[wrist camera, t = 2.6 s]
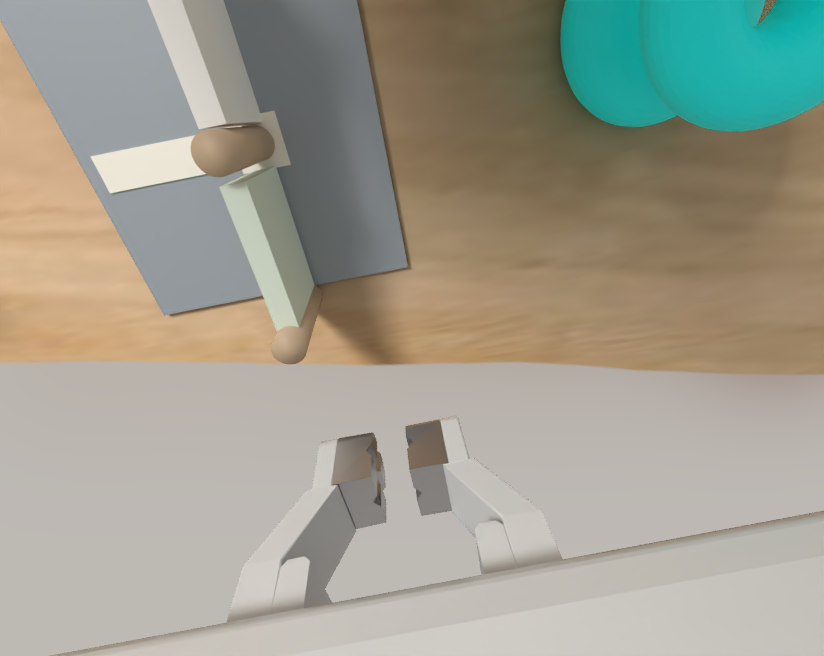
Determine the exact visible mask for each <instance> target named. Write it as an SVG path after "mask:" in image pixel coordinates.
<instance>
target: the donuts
mask: <svg viewBox="0 0 824 656" xmlns="http://www.w3.org/2000/svg"><path fill="white" fill-rule="evenodd" d="M765 1H766V0H566V1H565V5H564V10H563V15H562V23H561V56H562V62H563V67H564V71H565V75H566V78H567V81H568V83H569V85H570V87H571V89H572V91H573V93H574V95H575V96H576V98H577V99H578V100H579V102H580V103H581V104H582V105H583V106H584V107H585V108H586V109H587V110H588V111H589V112H590V113H592V114H593V115H594V116H596V117H597V118H599V119H601V120H603V121H605V122H607V123H610V124H613V125H617V126H624V127H643V126H649V125H654V124H657V123H660V122H664V121H666V120H669V119H671V118H674V117H676V116H679V117H681V118H682V119H684V120H686V121H688V122H690V123H692V124H695V125H697V126H700V127H703V128H706V129H710V130H716V131H731V132H739V131H749V130H755V129H760V128H764V127H768V126H771V125H775V124H778V123H781V122H784V121H786V120H789V119H791V118H793V117H796V116H798V115H800V114H802V113H804V112H806V111H808V110H809V109H811V108H813V107H815V106H816V105H818V104H820V103H822V102H823V101H824V0H777V1H776V3H775V4H774V6H773V8H772V9H771V11H770V12H769V14H768V15H767V16H766V17H765V18H764V20H763V21H762V22H761V23H759V24H758V22H759V19H760V16H761V14H762V11H763V8H764V4H765ZM757 24H758V25H757Z"/></svg>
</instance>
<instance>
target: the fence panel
mask: <svg viewBox="0 0 824 656" xmlns="http://www.w3.org/2000/svg"><path fill="white" fill-rule="evenodd" d="M219 188H220V191H221V193H222V196H223V198H224V201H225V203H226V206H227V208H228V210H229V213H230V215H231V218H232V220H233V223H234V225H235V228H236V230H237V233H238V235H239V238H240V240H241V243H242V245H243V248H244V250H245V253H246V255H247V258H248V260H249V263H250V265H251V268H252V270H253V273H254V275H255V278H256V280H257V283H258V285H259V288H260V290H261V293H262V295H263V297H264V300H265V302H266V305H267V307H268V310H269V312H270V315H271V317H272V320H273V322H274V325H275V327H276V330H277V333H276V335H275V338H274V340H273V342H272V345H271V352H272V354H273V356H274V357H275V358H276V359H277V360H278V361H280V362H282V363H285V364H296V363H299V362H300V361H302V360H303V359H304V357H305V355H306V352H307V349H308V345H309V342H310V338H311V335H312V332H313V328H314V325H315V321H316V318H317V314H318V311H319V307H320V304H321V300H322V292H321V290H320V289H319V288H318V287H317V286H316V285H314V282H313V279H312V276H311V273H310V270H309V266H308V263H307V260H306V257H305V254H304V251H303V248H302V245H301V242H300V239H299V236H298V233H297V230H296V226H295V223H294V220H293V217H292V214H291V211H290V208H289V205H288V202H287V199H286V196H285V193H284V190H283V186H282V183H281V180H280V177H279V174H278V171H277V168H276V166H274V167H269V168H264V169H259V170H255V171H253V172H251V173H248V174H246V175H244V176H242V177H240V178H238V179H235V180H233V181H231V182H229V183H227V184H225V185H222V186H220V187H219Z"/></svg>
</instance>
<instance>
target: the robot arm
mask: <svg viewBox="0 0 824 656" xmlns="http://www.w3.org/2000/svg"><path fill="white" fill-rule="evenodd" d="M406 438H407V442H408V446H409V448H408V449H407V450H408V460H409V470H410V473H411V477H412V482H413V486H414V488H415V489H416V494H417V501H418V505H419V508H420V512H421V515H422V516H423V515H429V514H435V513H441V512H447V511H452V512H453V513H454V514H455V516H456V517H457V518H458V519H459V520H460V521H461V522H462V524H463V525H464V526H465V527H466V528H467V529H468V530H469V531H470V533H471V534H472V535H473V536H474V537H475V538H476V541H477V548H478V554H479V561H480V568H481V573H482V575H480V576H473V577H468V578H463V579H458V580H452V581H447V582H442V583H436V584H431V585H426V586H420V587H416V588H410V589H404V590H399V591H394V592H388V593H383V594H378V595H372V596H367V597H362V598H356V599H351V600H345V601H340V602H335V603H332V602H331V600H330V598H329V596H328V594H327V593H326V590H325V588H326V586H327V584H328V582H329V580H330V579H331V577H332V575H333V573H334V571H335V569H336V567H337V566H338V564H339V562H340V560H341V558H342V556H343V554H344V553H345V551H346V549H347V547H348V545H349V543H350V541H351V540H352V538H353V536H354V534H355V532H356V529H358V528H363V527H367V526H372V525H376V524H381V523H385V522H386V499H385V496H384V493H383V490H384V488H385V473H384V466H383V461H382V457H381V454H380V453H379V452H378V451H377V441H376V438H375V435H374V433H367V434H361V435H356V436H350V437H344V438H339V439H334V440H329V441H322V442H321V444H320V445H319V450H318V455H317V461H316V466H315V472H314V478H313V484H312V489H311V490H307V491H305V493H304V494H303V495H302V496H301V498H300V499H299V500H298V501H297V502H296V504H295V505H294V506H293V507H292V508H291V510H290V511H289V512H288V513H287V514H286V516H285V517H284V518H283V519H282V520H281V522H280V523H279V524H278V525H277V526H276V528H275V529H274V530H273V531H272V532H271V534H270V535H269V536H268V537H267V538H266V540H265V541H264V542H263V543H262V544H261V546H260V547H259V548H258V549H257V550H256V552H255V553H254V554H253V555H252V556H251V558H250V559H249V560H248V561H247V562H246V564H245V565H244V566H243V569H242V572H241V576H240V579H239V582H238V586H237V589H236V592H235V596H234V599H233V603H232V606H231V609H230V612H229V616H228V619H227V623H223V624H218V625H212V626H207V627H201V628H196V629H191V630H186V631H180V632H174V633H169V634H164V635H158V636H153V637H148V638H142V639H137V640H132V641H126V642H121V643H116V644H110V645H105V646H99V647H94V648H89V649H84V650H78V651H73V652H68V653H62V654H57V655H52V656H824V511H820V512H815V513H809V514H804V515H799V516H794V517H788V518H783V519H778V520H773V521H767V522H762V523H756V524H751V525H745V526H741V527H735V528H729V529H724V530H719V531H714V532H708V533H703V534H698V535H692V536H687V537H681V538H676V539H671V540H666V541H660V542H655V543H649V544H644V545H639V546H633V547H628V548H623V549H617V550H612V551H607V552H602V553H596V554H591V555H585V556H580V557H574V558H569V559H564V560H563V559H562V557H561V555H560V552H559V550H558V547H557V545H556V543H555V540H554V538H553V536H552V533H551V531H550V528H549V526H548V524H547V521H546V519H545V517H544V514H543V512H542V510H540V509H539V508H538V507H537V506H535V505H534V504H533V503H532V502H530V501H529V500H528V499H526V498H525V497H524V496H522V495H521V494H520V493H519V492H517V491H516V490H515V489H514V488H512V487H511V486H510V485H508V484H507V483H506V482H505V481H503V480H502V479H501V478H499V477H498V476H497V475H495V474H494V473H493V472H492V471H490V470H489V469H488V468H487V467H485V466H484V465H483V464H481V463H480V462H479V461H478V460H476V459H475V458H474V459H469V455H468V452H467V448H466V444H465V441H464V437H463V434H462V430H461V426H460V423H459V419H458V417H457V416H452V417H448V418H442V419H440V421H439V420H434V421H429V422H424V423H419V424H414V425H409V426H406Z"/></svg>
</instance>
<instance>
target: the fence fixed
mask: <svg viewBox="0 0 824 656" xmlns="http://www.w3.org/2000/svg"><path fill="white" fill-rule="evenodd" d="M147 1H148V3H149V6H150V8H151V11H152V13H153V16H154V18H155V21H156V23H157V26H158V28H159V31H160V33H161V36H162V38H163V41H164V43H165V46H166V48H167V51H168V53H169V56H170V58H171V61H172V63H173V66H174V68H175V71H176V73H177V76H178V78H179V81H180V83H181V86H182V88H183V91H184V93H185V96H186V98H187V101H188V103H189V106H190V108H191V111H192V113H193V116H194V118H195V121H196V124H197V126H198V129H208V130H203V131H200V132H198V133H197V134H196V135H195V136H194V138H193V139H192V142H191V155H192V158H193V160H194V162H195V164H196V165H197V166H198V167H199V169H200V170H202V171H203V172H204V173H206V174H208V175H210V176H213V177H225V176H228V175H230V174H233V173H235V172H238V171H240V170H243V169H245V168H247V167H250V166H252V165H255V164H257V163H260V162H262V161H264V160H267V159H269V158H270V157H271V156H272V155H273V153H274V150H275V143H274V139H273V137H272V135H271V134H270V132H269V131H268V130H266V129H265V128H263V127H261V126H243V125H248V124H253V123H258V122H262V119H261V116H260V111H259V108H258V105H257V102H256V99H255V96H254V93H253V90H252V87H251V84H250V80H249V77H248V74H247V71H246V68H245V65H244V62H243V59H242V56H241V53H240V49H239V46H238V43H237V40H236V37H235V34H234V31H233V28H232V25H231V22H230V19H229V15H228V12H227V9H226V6H225V3H224V0H147ZM234 126H243V127H234ZM221 127H231V128H221ZM209 128H220V129H209Z"/></svg>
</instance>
